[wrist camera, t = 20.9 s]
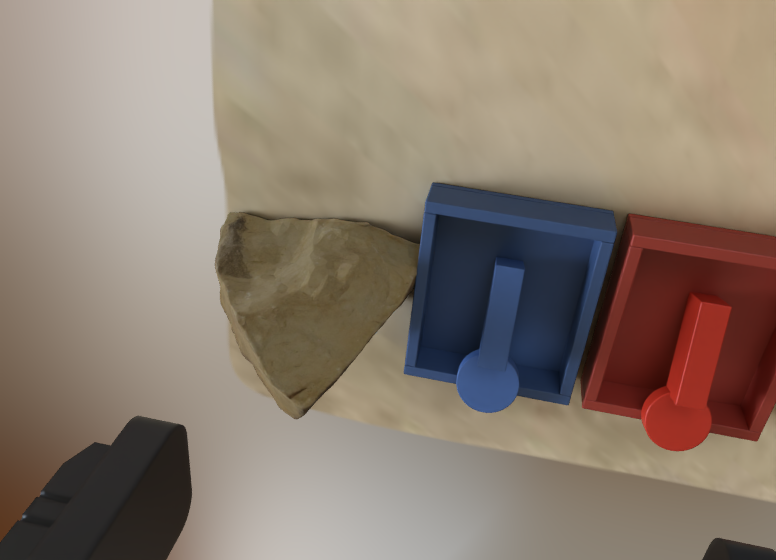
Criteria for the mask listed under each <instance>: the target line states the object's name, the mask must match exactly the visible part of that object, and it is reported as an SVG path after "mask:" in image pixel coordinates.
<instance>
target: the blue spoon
mask: <svg viewBox="0 0 776 560" xmlns="http://www.w3.org/2000/svg"><path fill="white" fill-rule="evenodd" d="M524 273H525V268H524V262H523V261H519V260H513V259H507V258H501V257H496V260H495V265H494V271H493V277H492V282H491V288H490V293H489V299H488V304H487V310H486V315H485V321H484V326H483V332H482V337H481V343H480V349H478V350H475V351H473V352H471V353H470V354H468V355H467V356H466V357H465V358H464V359H463V361H462V362H461V364H460V366H459V369H458V373H457V380H456V385H457V390H458V393H459V395H460V397H461V399H462V400H463V401H464V402H465V403H466V404H467V405H468V406H469V407H471V408H472V409H474V410H477V411H480V412H485V413H492V412H498V411H501V410H503V409H505V408H506V407H508V406H509V405H510V404H511V403H512V402H513V401H514V400H515V398H516V396H517V394H518V391H519V373H518V369H517V367H516V364H515V363H514V361H513V360H512V359H511V358H510V357H509V351H510V346H511V341H512V336H513V330H514V325H515V320H516V315H517V309H518V304H519V299H520V294H521V288H522V283H523V278H524Z"/></svg>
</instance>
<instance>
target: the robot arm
mask: <svg viewBox="0 0 776 560" xmlns="http://www.w3.org/2000/svg"><path fill="white" fill-rule="evenodd" d="M189 464H190V463H189V452H188V441H187V432H186V429H185V427H184V426H183V425H180V424H175V423H171V422H166V421H160V420H156V419H151V418H146V417H141V416H136V417H134V418H132V419H131V420H130V421H129V422H128V423H127V425H126V426H125V427H124V429H123V430H122V431H121V433H120V434H119V435H118V437H117V438H116V439H115V441H114V442H113V443H112V445H111V446H110V445H105V444H100V443H96V442H95V443H93V444H92V445H90V446H89V447H87V448H86V449H84V450H83V451H81V452H80V453H78V454H77V455H75V456H74V457H72V458H71V459H69V460H68V461H66V462H65V463H63V465H62V466H61V467H60V468H59V470H58V471H57V472H56V473H55V475H54V476H53V477H52V479H51V480H50V481H49V482H48V483H47V485H46V486H45V487H44V488H43V490H42V491H41V495H40V497H36V498H35V500H34V501H33V502H32V503H31V505H30V506H29V507H28V508H27V509H26V511H25V512H24V513H23V517H22V519H21V520H20V521H17V522H16V523H15V525H14V526H13V527H12V528H11V530H10V531H9V532H8V533H7V535H6V536H5V537H4V538H3V540H2V541H1V542H0V560H166V559H167V557H168V555H169V553H170V552H171V550H172V548H173V546H174V544H175V543H176V541H177V539H178V537H179V535H180V533H181V531H182V530H183V527H184V525H185V522H186V520H187V516H188V513H189V509H190V504H191V498H192V488H191V475H190V465H189ZM702 560H776V552H775V551H774V550H773V549H770V548H765V547H760V546H755V545H750V544H745V543H740V542H736V541H731V540H726V539H721V538H715V539H714V540H713V541H712V542H711V544H710V545H709V547H708V549H707V551H706V553H705V555H704V557H703V559H702Z"/></svg>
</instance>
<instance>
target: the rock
mask: <svg viewBox="0 0 776 560" xmlns="http://www.w3.org/2000/svg"><path fill="white" fill-rule="evenodd" d="M419 249H420V244H415V243H412V242H410V241H408V240H405V239H403V238H401V237H398V236H394V235H391V234H390V233H389V232H387V231H385V230H383V229H380V228H377V227H374V226H371V225H370V224H369V223H368V222H350V221H345V220H340V219H334V218H332V219H314V220H312V221H310V220H299V219H296V218H283V219H278V220H265V219H263V218H260V217H257V216H251V215H249V214H246V213H242V212H239V213H229V214H228V216H227V219H226V221H225V223H224V225H223V226H222V227H221V230H220V241H219V245H218V252H217V255H216V258H215V269H216V273H217V276H218V279H219V283H220V301H221V305H222V307H223V309H224V312H225V313H226V315H227V317H228V319H229V321H230V324H231V326H232V331H233V333H234V334H235V338H236V341H237V343H238V345H239V348H240V351H241V353H242V355H243V356H244V357H245V358H246V359H247V360H248V361H249V362H251V363H252V364H253V366H254V368H255V370H256V372H257V375H258V376H259V378H260V379H261V381H262V382H263V384H264V385H265V386H266V388H267V389H268V391H269V392H270V393H271V395H272V396H273V398H274V399H275V401H276V403H277V405H278V406H279V408H280V409H282V410H283V411H284V412H285V413H287V414H288V415H290V416H291V417H292V418H294V419H299V418H300V417H302V416H304V415H305V414H306V413H307V411H308V410H309V409H310V408H311V407H312V406H313V405H314V403H315V402H316V401H317V400H318V399H319V398H320V397H321V396H322V395H323V394H324V393H325V392H326V391H327V390H328V389H329V388H330V387H332V386H333V385H334V383H335V382H336V381H337V380H338V379H339V377H340V376H341V375H342V374H343V373H344V372H345V371H346V369H347V368H348V367H349V365H350V364H351V363H352V362H353V361H354V360H355V358H356V357H357V356H358V354H359V353H360V352H361V351H362V350H363V348H364V347H365V345H366V344H367V343H368V342H369V341H370V339H371V338H372V336H373V335H374V334H375V333H376V332H377V331H378V330H379V329H380V328H381V327H382V326H383V324H384V323H385V321H386V320H387V319H388V318H389V317H390V316H391V314H392V313H393V312H394V311H395V310H396V309H397V308H398V307H399V306H401V305H402V303H403V302H404V300H405V299H406V298H407V296H408V295H409V293H410V292H411V291H412V289H413V288H414V287H415V281H416V275H417V265H418V257H419Z"/></svg>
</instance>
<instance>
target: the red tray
mask: <svg viewBox="0 0 776 560" xmlns="http://www.w3.org/2000/svg"><path fill="white" fill-rule="evenodd" d="M690 292H696V293H702V294H708V295H714V296H718V297H719V298H721V299H722V300H723V301H725V302H726V303H727V304H729V305H730V306H731V307H732V310H731V313H730V317H729V321H728V325H727V329H726V332H725V336H724V340H723V344H722V348H721V352H720V355H719V359H718V363H717V367H716V371H715V375H714V378H713V382H712V386H711V390H710V394H709V397H708V401H707V406H708V407H709V409H710V412H711V415H712V425H711V429H710V432H709V433H715V434H720V435H725V436H730V437H736V438H741V439H746V440H751V441H758V439H759V437H760V435H761V432H762V430H763V428H764V426H765V424H766V422H767V420H768V418H769V416H770V414H771V412H772V409H773V407H774V405H775V403H776V237H774V236H768V235H762V234H755V233H749V232H743V231H736V230H730V229H724V228H717V227H711V226H705V225H699V224H692V223H686V222H680V221H673V220H667V219H661V218H654V217H648V216H642V215H635V214H628V217H627V221H626V224H625V228H624V231H623V235H622V238H621V242H620V245H619V249H618V252H617V255H616V259H615V262H614V266H613V269H612V273H611V276H610V280H609V283H608V287H607V290H606V294H605V297H604V301H603V304H602V307H601V311H600V314H599V318H598V321H597V325H596V328H595V332H594V335H593V339H592V342H591V346H590V349H589V352H588V356H587V359H586V363H585V366H584V370H583V373H582V377H581V380H580V381H581V396H582V408H584V409H590V410H595V411H600V412H605V413H610V414H616V415H621V416H626V417H631V418H637V419H641V411H642V407H643V404H644V402H645V400H646V399H647V398H648V396H649V395H650V394H652V393H653V392H654V391H656V390H657V389H659V388H661V387H664V386H666V385H667V381H668V377H669V373H670V369H671V365H672V361H673V357H674V353H675V349H676V345H677V341H678V337H679V333H680V329H681V325H682V320H683V316H684V312H685V308H686V304H687V300H688V296H689V293H690Z"/></svg>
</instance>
